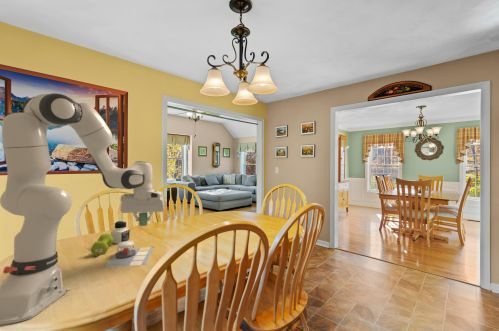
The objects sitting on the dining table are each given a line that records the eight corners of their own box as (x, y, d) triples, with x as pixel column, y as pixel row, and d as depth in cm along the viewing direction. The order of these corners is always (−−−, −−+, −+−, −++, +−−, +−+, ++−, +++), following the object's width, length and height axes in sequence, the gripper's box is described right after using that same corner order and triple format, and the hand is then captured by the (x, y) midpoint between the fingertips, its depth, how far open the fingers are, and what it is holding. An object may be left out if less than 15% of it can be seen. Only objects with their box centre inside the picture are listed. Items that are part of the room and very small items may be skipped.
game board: (145, 266, 109) (145, 257, 108) (104, 269, 105) (104, 260, 105) (154, 248, 131) (154, 241, 131) (120, 250, 127) (120, 242, 127)
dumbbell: (107, 256, 119) (107, 242, 119) (89, 257, 117) (89, 243, 117) (114, 245, 135) (114, 232, 135) (98, 246, 132) (98, 233, 132)
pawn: (145, 225, 118) (145, 214, 118) (137, 226, 117) (137, 214, 117) (148, 223, 121) (148, 212, 121) (140, 223, 121) (140, 212, 121)
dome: (131, 252, 116) (131, 245, 116) (115, 253, 115) (115, 246, 115) (135, 247, 123) (135, 240, 123) (120, 247, 122) (120, 241, 122)
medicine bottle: (121, 244, 136) (121, 223, 136) (110, 243, 138) (110, 222, 137) (129, 240, 144) (130, 220, 143) (119, 239, 145) (119, 219, 144)
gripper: (118, 195, 114) (118, 223, 114) (163, 194, 118) (163, 221, 118) (122, 192, 120) (122, 219, 120) (165, 192, 124) (165, 218, 124)
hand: (143, 220), depth 119 cm, fingers closed on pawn, 4 cm apart
